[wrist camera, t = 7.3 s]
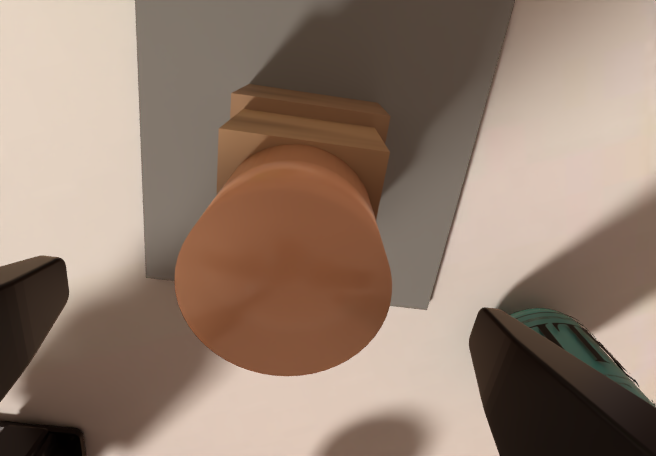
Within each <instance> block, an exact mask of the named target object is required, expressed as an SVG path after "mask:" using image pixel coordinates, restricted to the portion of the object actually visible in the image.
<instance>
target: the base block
mask: <svg viewBox="0 0 656 456" xmlns="http://www.w3.org/2000/svg"><path fill="white" fill-rule="evenodd" d="M243 109H249V110H256V111H263V112H270V113H277V114H284V115H291V116H298V117H305V118H312V119H319V120H326V121H333V122H340V123H347V124H354V125H361V126H368V127H375V129H376V130H377V132H378V134H379V135H380V137H381V138H382V140H383V142H384V143H385V142H386V137H387V132H388V127H389V122H390V117H391V116H390V115H389V114H388V113H387V112H386V111H385V110H384V109H383V108H382V107H381V105H380V104H379V103H376V102H369V101H362V100H356V99H349V98H342V97H335V96H328V95H321V94H315V93H308V92H301V91H294V90H287V89H281V88H274V87H267V86H260V85H253V84H248V85H246V86H244V87H242V88H240V89H238V90H236V91H234V92H232V93H231V110H230V119H231V118H232V117H234V116H235V115H236V114H238V113H239V112H240V111H241V110H243Z"/></svg>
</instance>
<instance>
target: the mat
mask: <svg viewBox="0 0 656 456" xmlns="http://www.w3.org/2000/svg"><path fill="white" fill-rule="evenodd" d="M514 3H515V0H135V10H136V35H137V61H138V86H139V111H140V137H141V162H142V188H143V213H144V239H145V264H146V278H154V279H162V280H171V281H174V279H175V267H176V262H177V258H178V255H179V252H180V250H181V247H182V245H183V243H184V241H185V239H186V238H187V236H188V234H189V233H190V231H191V230H192V228H193V227H194V226H195V224H196V223H197V222H198V220H199V219H200V217H201V216H202V215H203V213H204V212H205V210H206V209H207V208H208V206H209V205H210V203H211V202H212V201H213V199H214V198H215V196H216V193H217V165H218V137H219V128H220V127H221V126H222V125H224V124H225V123H226V122H227V121H229V120H230V110H231V93H232V92H234V91H236V90H238V89H240V88H242V87H244V86H246V85H248V84H253V85H260V86H267V87H274V88H281V89H287V90H294V91H301V92H308V93H315V94H321V95H328V96H335V97H342V98H349V99H356V100H362V101H369V102H376V103H379V104H380V105H381V107H382V108H383V109H384V110H385V111H386V112H387V113H388V114H389V115H390V116H391V117H390V122H389V127H388V132H387V137H386V142H385V145H386V147H387V148H388V150H389V151H390V155H389V159H388V164H387V169H386V174H385V179H384V184H383V189H382V194H381V199H380V204H379V208H378V213H377V218H376V222H377V226H378V229H379V232H380V236H381V239H382V243H383V246H384V249H385V253H386V256H387V259H388V263H389V266H390V270H391V277H392V296H391V302H390V306H396V307H405V308H414V309H422V310H427V308H428V305H429V301H430V298H431V294H432V290H433V287H434V283H435V280H436V276H437V273H438V269H439V266H440V262H441V259H442V255H443V252H444V248H445V245H446V241H447V238H448V234H449V231H450V227H451V224H452V220H453V217H454V213H455V210H456V206H457V203H458V199H459V196H460V192H461V189H462V185H463V182H464V178H465V175H466V171H467V168H468V164H469V161H470V157H471V154H472V150H473V147H474V143H475V140H476V136H477V133H478V129H479V125H480V122H481V118H482V115H483V111H484V108H485V104H486V101H487V97H488V94H489V90H490V87H491V83H492V80H493V76H494V73H495V69H496V66H497V62H498V59H499V55H500V52H501V48H502V45H503V41H504V38H505V34H506V31H507V27H508V24H509V20H510V17H511V13H512V10H513V6H514Z"/></svg>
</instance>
